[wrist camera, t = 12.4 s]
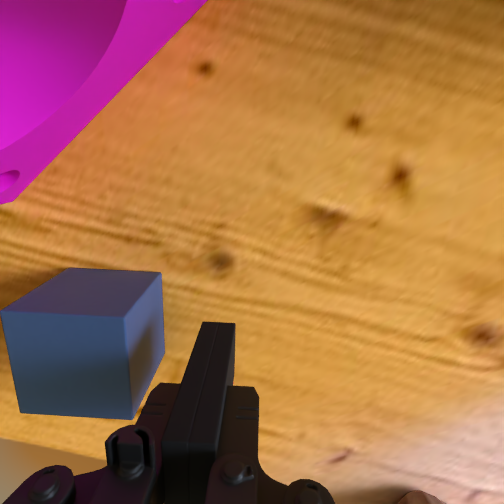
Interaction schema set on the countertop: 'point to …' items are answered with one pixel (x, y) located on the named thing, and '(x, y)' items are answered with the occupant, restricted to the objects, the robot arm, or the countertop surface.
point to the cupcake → (419, 498)
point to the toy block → (69, 71)
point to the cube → (86, 342)
